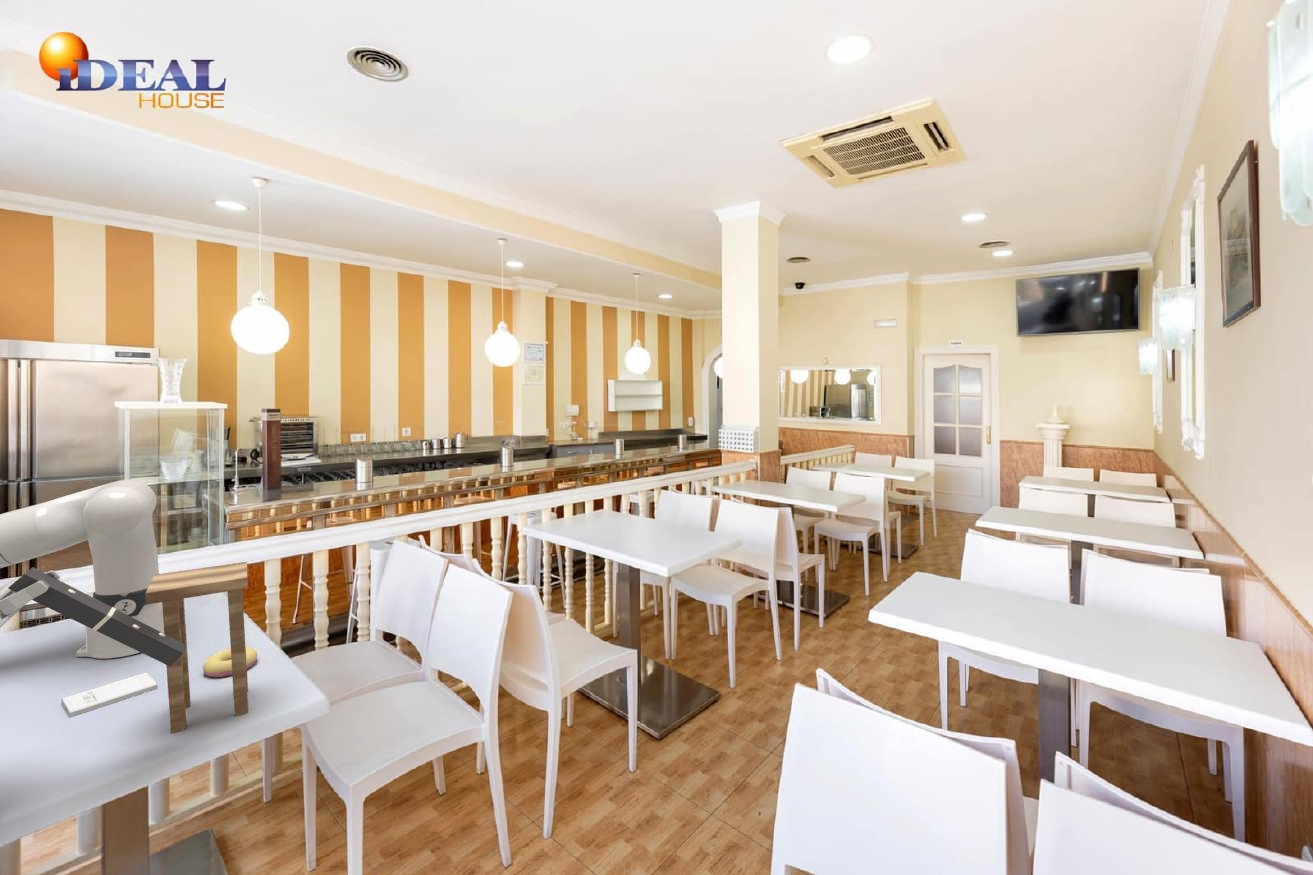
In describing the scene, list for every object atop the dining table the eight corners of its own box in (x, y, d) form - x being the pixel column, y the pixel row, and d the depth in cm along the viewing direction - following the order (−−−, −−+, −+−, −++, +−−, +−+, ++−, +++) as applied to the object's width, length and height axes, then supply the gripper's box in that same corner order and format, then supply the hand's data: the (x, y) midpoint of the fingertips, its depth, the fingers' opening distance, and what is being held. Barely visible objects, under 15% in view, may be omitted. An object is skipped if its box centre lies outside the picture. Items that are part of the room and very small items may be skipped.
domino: (16, 580, 84) (33, 566, 85) (172, 657, 96) (186, 643, 97) (7, 588, 81) (25, 573, 82) (169, 667, 92) (183, 652, 93)
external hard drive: (157, 691, 113) (70, 719, 103) (146, 679, 118) (61, 705, 108) (157, 683, 113) (69, 711, 103) (146, 671, 118) (61, 697, 108)
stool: (163, 707, 107) (154, 574, 105) (253, 685, 115) (247, 561, 113) (155, 739, 97) (145, 593, 95) (254, 712, 105) (247, 577, 103)
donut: (262, 666, 128) (216, 664, 126) (266, 645, 128) (220, 643, 126) (241, 681, 118) (190, 679, 116) (245, 658, 119) (195, 656, 117)
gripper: (-20, 633, 88) (83, 576, 95) (-84, 689, 72) (47, 615, 78) (-54, 604, 86) (54, 547, 92) (-128, 654, 69) (10, 581, 76)
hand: (51, 579), depth 85 cm, fingers closed on domino, 4 cm apart
